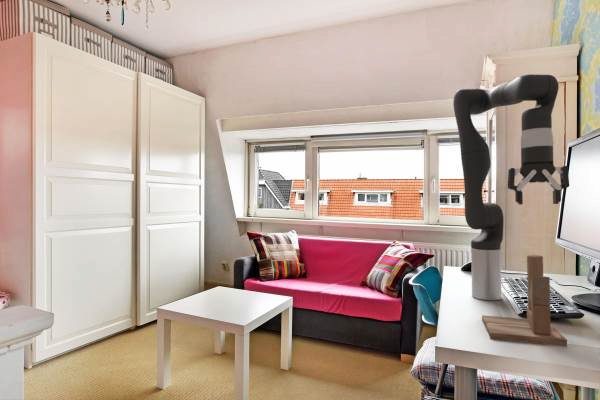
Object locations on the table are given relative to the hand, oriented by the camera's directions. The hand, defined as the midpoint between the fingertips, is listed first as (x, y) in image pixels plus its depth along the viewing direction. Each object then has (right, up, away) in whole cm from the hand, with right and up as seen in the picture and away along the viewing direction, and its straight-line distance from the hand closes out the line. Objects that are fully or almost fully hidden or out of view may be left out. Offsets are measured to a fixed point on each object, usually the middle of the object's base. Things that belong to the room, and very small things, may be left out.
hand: (537, 204), depth 100 cm
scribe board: (-9, -33, -7) cm, 35 cm away
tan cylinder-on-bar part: (-6, -32, -8) cm, 33 cm away
